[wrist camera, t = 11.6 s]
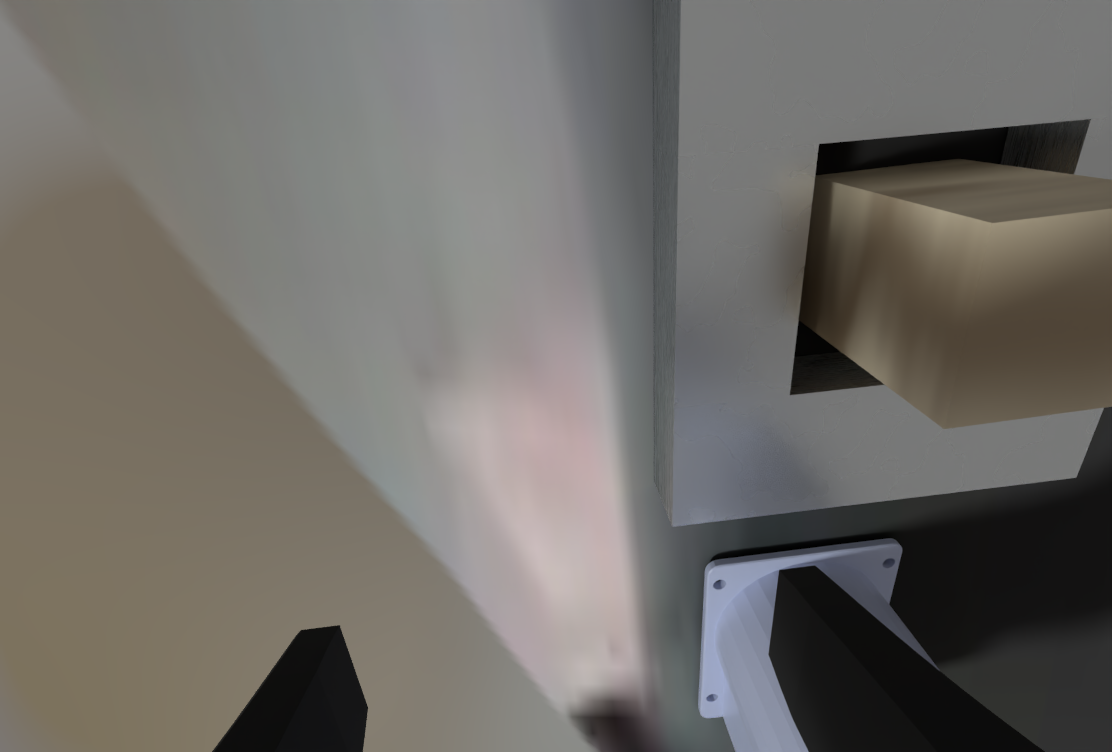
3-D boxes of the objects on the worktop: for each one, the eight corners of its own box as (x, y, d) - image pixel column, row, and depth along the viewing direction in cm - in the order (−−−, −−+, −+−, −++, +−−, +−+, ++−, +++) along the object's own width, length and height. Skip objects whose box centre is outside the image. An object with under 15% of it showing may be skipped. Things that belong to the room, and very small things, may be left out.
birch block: (929, 302, 19) (1139, 402, 13) (797, 319, 19) (944, 429, 13) (957, 158, 17) (1221, 195, 11) (810, 175, 17) (991, 223, 11)
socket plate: (1017, 438, 22) (1076, 477, 20) (654, 481, 21) (672, 526, 19) (1189, -88, 15) (1311, -119, 13) (653, -47, 14) (681, -74, 12)
